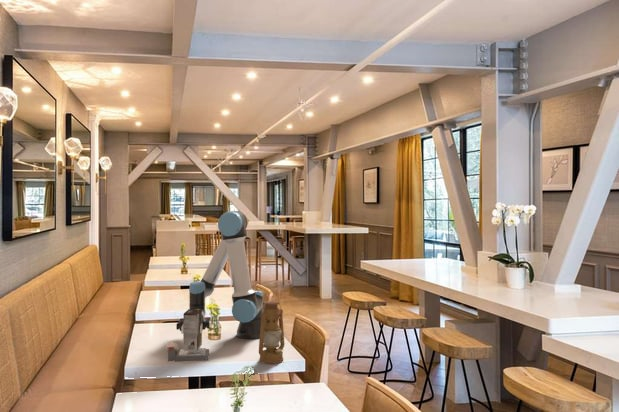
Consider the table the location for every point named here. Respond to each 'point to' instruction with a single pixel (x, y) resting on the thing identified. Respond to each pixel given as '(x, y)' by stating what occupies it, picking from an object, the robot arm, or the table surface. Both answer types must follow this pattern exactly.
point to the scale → (174, 356)
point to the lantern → (271, 333)
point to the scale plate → (192, 352)
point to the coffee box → (192, 330)
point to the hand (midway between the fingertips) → (191, 330)
